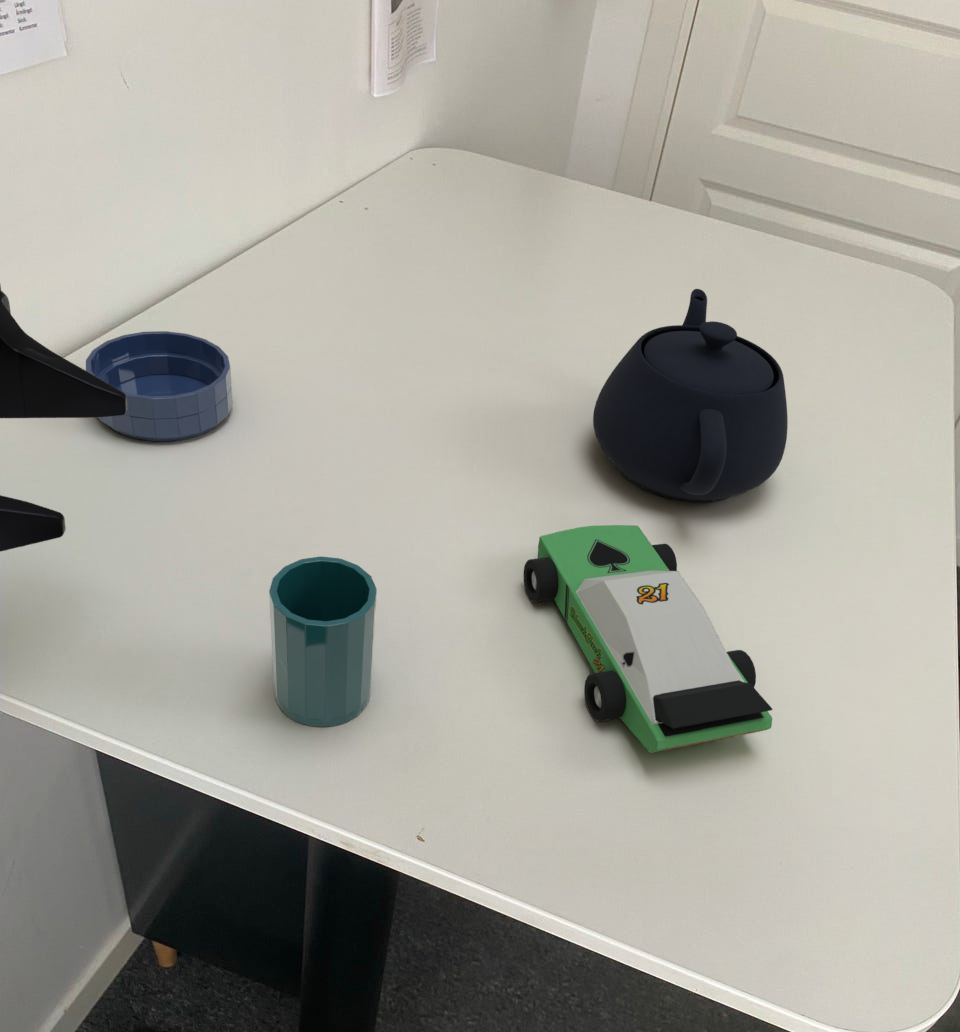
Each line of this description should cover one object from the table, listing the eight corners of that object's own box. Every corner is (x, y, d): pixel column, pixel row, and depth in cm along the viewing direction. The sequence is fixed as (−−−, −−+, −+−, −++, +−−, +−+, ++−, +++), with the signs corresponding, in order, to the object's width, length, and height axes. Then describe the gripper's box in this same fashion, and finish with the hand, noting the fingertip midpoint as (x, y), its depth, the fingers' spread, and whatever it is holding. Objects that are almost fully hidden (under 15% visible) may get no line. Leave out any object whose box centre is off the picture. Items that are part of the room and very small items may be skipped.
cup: (266, 722, 54) (260, 619, 48) (283, 653, 58) (280, 551, 52) (364, 731, 54) (370, 630, 48) (374, 662, 58) (380, 562, 52)
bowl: (75, 436, 71) (65, 388, 69) (117, 369, 79) (110, 324, 76) (216, 452, 72) (212, 406, 69) (244, 384, 80) (241, 340, 77)
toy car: (642, 551, 70) (659, 495, 66) (777, 749, 57) (807, 693, 53) (511, 566, 66) (522, 509, 63) (624, 780, 54) (646, 723, 50)
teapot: (786, 566, 70) (850, 423, 62) (581, 533, 70) (617, 385, 62) (751, 401, 88) (796, 273, 80) (588, 375, 88) (617, 244, 80)
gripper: (-546, 322, 28) (-4, 434, 31) (-215, 111, 41) (150, 202, 44) (-390, 582, 36) (31, 655, 39) (-153, 338, 49) (153, 404, 52)
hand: (97, 460), depth 43 cm, fingers open, 9 cm apart
